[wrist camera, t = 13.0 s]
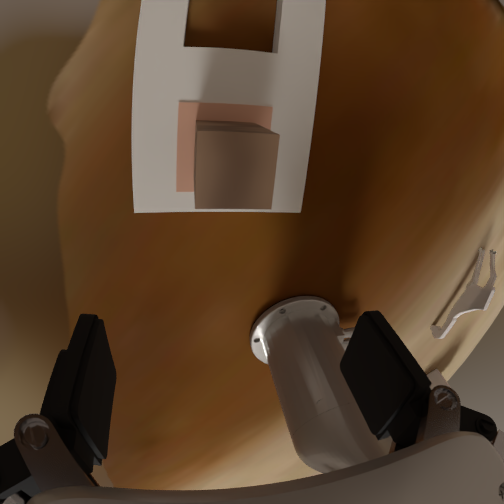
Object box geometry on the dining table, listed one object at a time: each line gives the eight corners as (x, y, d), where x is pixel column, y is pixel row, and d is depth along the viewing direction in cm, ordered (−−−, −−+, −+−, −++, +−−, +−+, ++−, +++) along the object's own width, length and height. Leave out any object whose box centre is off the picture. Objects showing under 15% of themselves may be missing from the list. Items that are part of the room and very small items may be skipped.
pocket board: (319, -29, 19) (328, -36, 17) (294, 205, 32) (301, 213, 30) (154, -46, 16) (151, -55, 14) (137, 205, 28) (134, 213, 26)
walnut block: (254, 122, 25) (279, 134, 18) (249, 177, 27) (271, 209, 20) (195, 120, 24) (197, 130, 17) (193, 176, 26) (194, 209, 19)
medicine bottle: (413, 383, 60) (436, 420, 49) (437, 367, 59) (461, 402, 49) (413, 394, 63) (434, 428, 53) (435, 379, 63) (458, 412, 52)
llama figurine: (451, 242, 48) (426, 335, 49) (500, 250, 37) (471, 355, 38) (456, 245, 49) (431, 335, 50) (503, 252, 38) (475, 354, 39)
